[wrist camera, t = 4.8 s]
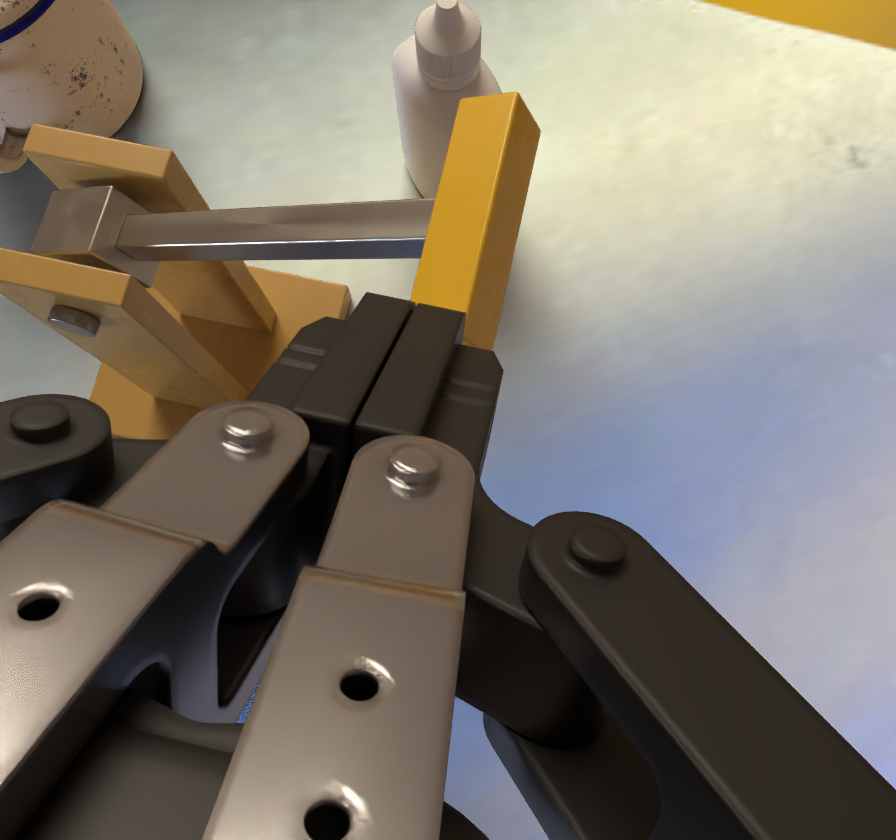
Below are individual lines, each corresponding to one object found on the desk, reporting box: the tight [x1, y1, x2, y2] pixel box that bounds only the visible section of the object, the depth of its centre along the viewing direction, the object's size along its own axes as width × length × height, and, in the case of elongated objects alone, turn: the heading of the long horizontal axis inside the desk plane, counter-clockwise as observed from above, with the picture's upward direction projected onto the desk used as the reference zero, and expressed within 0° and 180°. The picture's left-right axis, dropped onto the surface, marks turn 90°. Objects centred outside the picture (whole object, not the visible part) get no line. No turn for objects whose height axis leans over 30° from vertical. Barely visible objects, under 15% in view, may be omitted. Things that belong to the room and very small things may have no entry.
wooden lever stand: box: [0, 123, 351, 439], centre depth 30 cm, size 10×9×15 cm
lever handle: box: [31, 92, 540, 351], centre depth 22 cm, size 15×6×2 cm, turn 78°
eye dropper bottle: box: [392, 0, 502, 198], centre depth 34 cm, size 4×6×12 cm
